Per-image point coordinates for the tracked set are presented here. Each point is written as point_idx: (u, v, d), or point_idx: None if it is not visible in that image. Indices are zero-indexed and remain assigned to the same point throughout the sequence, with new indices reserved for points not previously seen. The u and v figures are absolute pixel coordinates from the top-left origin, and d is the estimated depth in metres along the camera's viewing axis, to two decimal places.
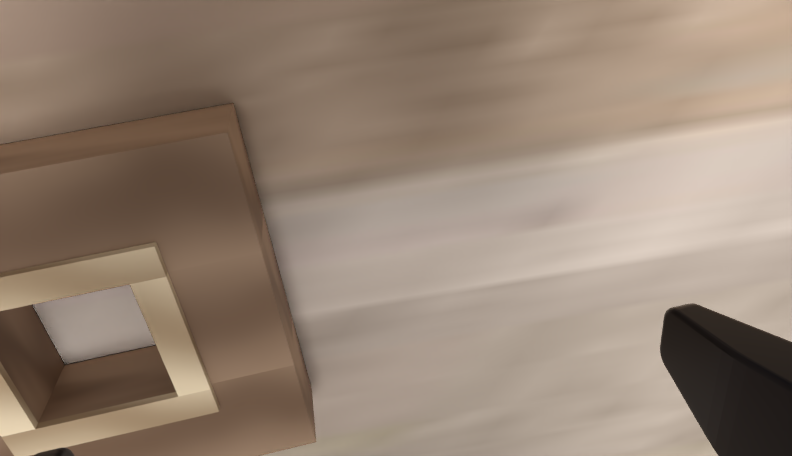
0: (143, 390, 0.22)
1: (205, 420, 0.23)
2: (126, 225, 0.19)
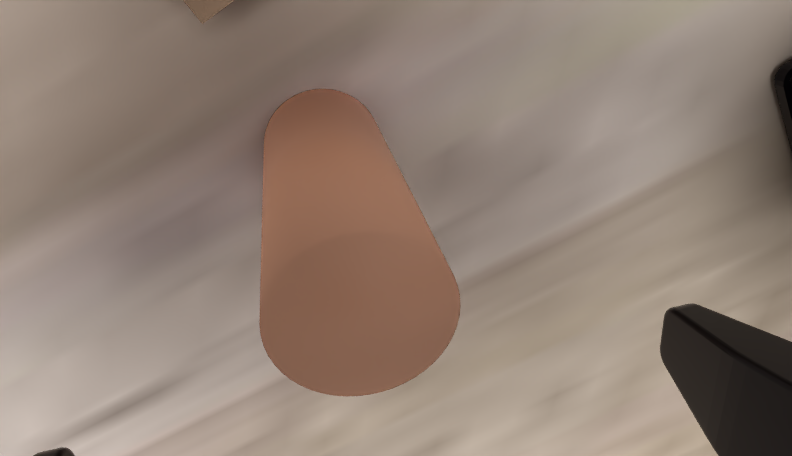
0: None
1: None
2: None
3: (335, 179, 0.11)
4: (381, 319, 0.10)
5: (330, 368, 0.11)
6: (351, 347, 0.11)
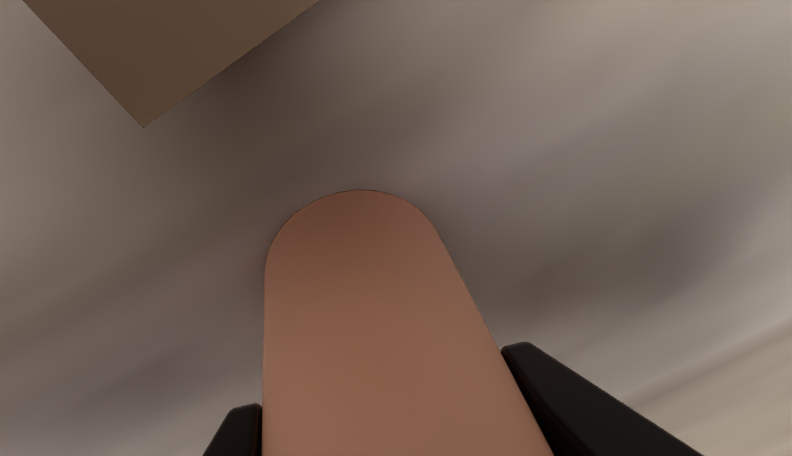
0: None
1: None
2: None
3: None
4: None
5: None
6: None
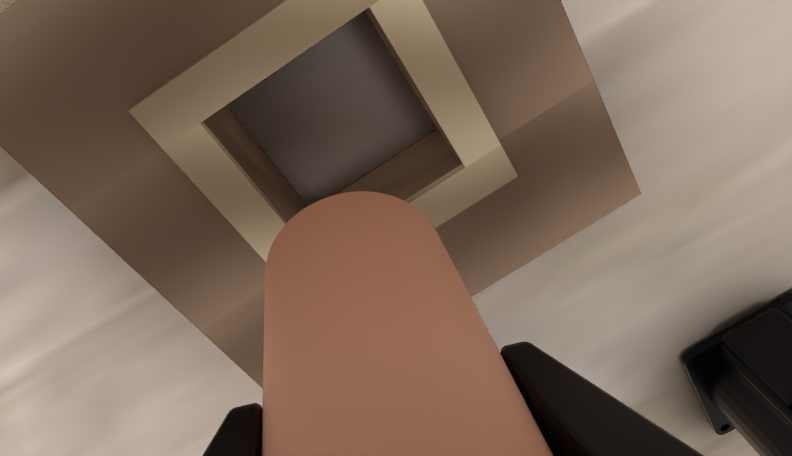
0: (417, 183, 0.18)
1: (502, 199, 0.18)
2: None
3: None
4: None
5: None
6: None
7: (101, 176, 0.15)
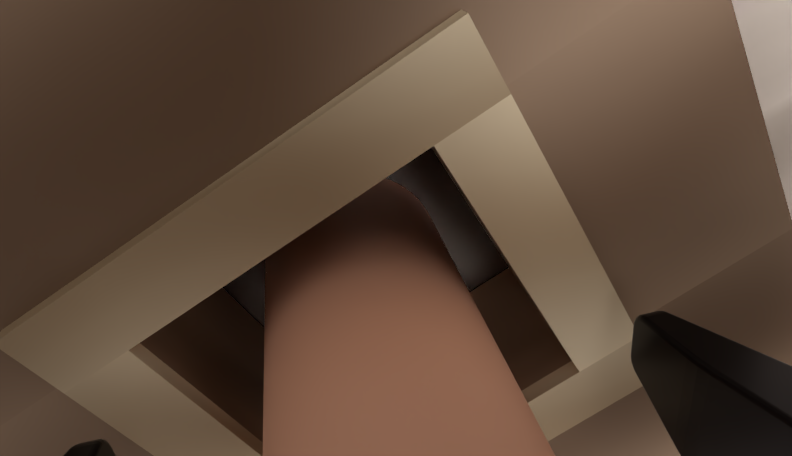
0: None
1: (628, 401, 0.11)
2: None
3: (412, 449, 0.06)
4: None
5: None
6: None
7: None
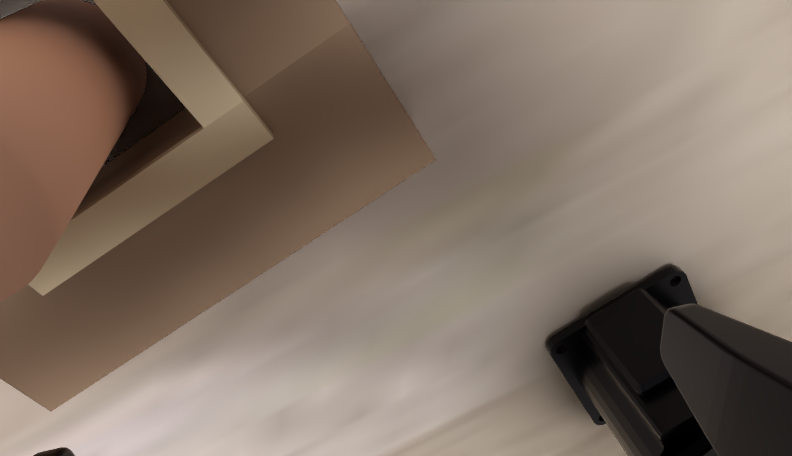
0: (161, 149, 0.15)
1: (265, 167, 0.15)
2: None
3: None
4: None
5: None
6: None
7: None
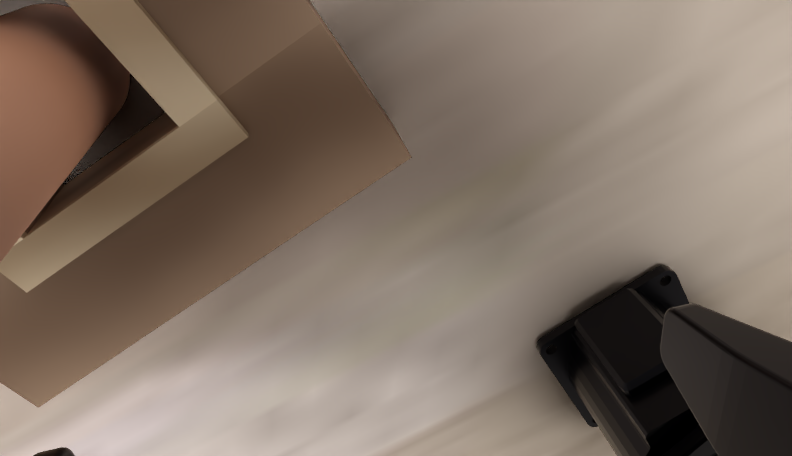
0: (140, 148, 0.15)
1: (241, 165, 0.16)
2: None
3: None
4: None
5: None
6: None
7: None
